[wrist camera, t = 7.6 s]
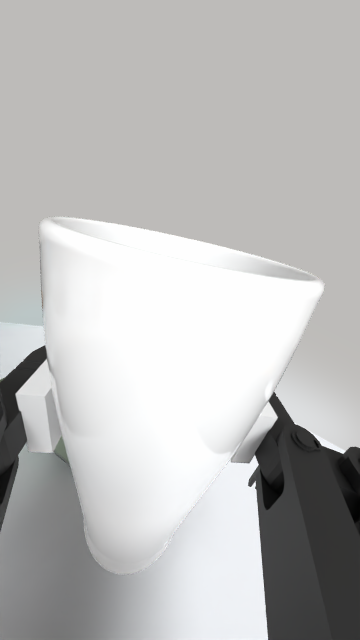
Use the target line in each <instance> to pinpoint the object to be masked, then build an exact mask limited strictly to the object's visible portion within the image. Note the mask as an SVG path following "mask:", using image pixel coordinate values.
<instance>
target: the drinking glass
mask: <svg viewBox="0 0 360 640" xmlns="http://www.w3.org/2000/svg"><path fill="white" fill-rule="evenodd" d="M38 233H39V243H40V270H41V295H42V311H43V325H44V337H45V347H46V356H47V363H48V371H49V377H50V383H51V389H52V394H53V399H54V404H55V409H56V414H57V418H58V422H59V426H60V430H61V434H62V438H63V442H64V446H65V449H66V453H67V457H68V460H69V464H70V468H71V471H72V475H73V479H74V483H75V487H76V490H77V494H78V498H79V502H80V506H81V510H82V514H83V524H84V534H85V538H86V542H87V545H88V548H89V550H90V552H91V554H92V556H93V557H94V559H95V560H96V561H97V562H98V563H99V564H100V565H101V566H102V567H103V568H105V569H106V570H108V571H110V572H112V573H115V574H120V575H129V574H134V573H137V572H140V571H142V570H144V569H146V568H148V567H149V566H151V565H152V564H153V563H154V562H155V561H156V560H157V559H158V558H159V557H160V556H161V555H162V554H163V552H164V551H165V550H166V548H167V547H168V545H169V543H170V541H171V540H172V538H173V535H174V533H175V532H176V530H177V529H178V528H179V526H180V525H181V524H182V522H183V521H184V519H185V518H186V517H187V515H188V514H189V513H190V511H191V510H192V509H193V508H194V506H195V505H196V504H197V502H198V501H199V500H200V498H201V497H202V496H203V494H204V493H205V492H206V491H207V489H208V488H209V487H210V485H211V484H212V483H213V481H214V480H215V479H216V478H217V476H218V475H219V474H220V472H221V471H222V470H223V468H224V467H225V466H226V465H227V463H228V462H229V461H230V459H231V458H232V456H233V455H234V454H235V452H236V451H237V450H238V448H239V447H240V445H241V444H242V443H243V441H244V440H245V438H246V437H247V435H248V434H249V432H250V431H251V429H252V427H253V426H254V424H255V423H256V421H257V419H258V418H259V416H260V415H261V413H262V411H263V410H264V408H265V406H266V405H267V403H268V401H269V400H270V398H271V396H272V394H273V392H274V391H275V389H276V387H277V385H278V383H279V381H280V380H281V378H282V376H283V374H284V372H285V370H286V368H287V366H288V364H289V362H290V360H291V358H292V356H293V354H294V352H295V350H296V348H297V346H298V344H299V342H300V340H301V338H302V336H303V334H304V332H305V330H306V327H307V325H308V323H309V321H310V319H311V317H312V315H313V312H314V310H315V308H316V306H317V304H318V302H319V300H320V298H321V297H322V295H323V293H324V290H325V285H324V282H323V281H322V280H321V279H320V278H319V277H317V276H315V275H313V274H311V273H309V272H306V271H304V270H301V269H298V268H295V267H292V266H290V265H286V264H283V263H280V262H277V261H273V260H270V259H267V258H263V257H259V256H256V255H252V254H248V253H245V252H241V251H237V250H233V249H229V248H225V247H221V246H217V245H213V244H209V243H205V242H201V241H196V240H192V239H187V238H183V237H179V236H174V235H170V234H165V233H160V232H155V231H150V230H145V229H140V228H135V227H130V226H124V225H119V224H113V223H107V222H101V221H95V220H88V219H80V218H71V217H47V218H45V219H43V220H41V222H40V223H39V227H38Z"/></svg>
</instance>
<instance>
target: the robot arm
mask: <svg viewBox="0 0 360 640" xmlns="http://www.w3.org/2000/svg"><path fill="white" fill-rule="evenodd" d="M61 435H62V434H61V430H60V426H59V422H58V418H57V414H56V409H55V404H54V399H53V394H52V389H51V383H50V377H49V371H48V363H47V356H46V347H45V346H43V347H41V348H39V349H37V350H35V351H33V352H32V353H31V354H29V355H28V356H27V357H26V358H25V359H24V361H23V362H21V363H20V364H19V365H18V366H17V367H16V369H14V370H13V371H12V372H10V373H9V374H8V375H7V376H6V377H5V378H4V379H3V380H2V381H1V382H0V531H1V527H2V524H3V520H4V516H5V513H6V509H7V505H8V502H9V498H10V494H11V491H12V487H13V483H14V480H15V476H16V472H17V469H18V462H19V458H18V454H19V453H20V451H21V450H22V448H23V446H24V445H25V443H27V447H28V452H40V453H53V451H54V449H55V447H56V445H57V443H58V441H59V439H60V437H61ZM254 455H255V456H256V458H257V461H258V464H259V465H258V467H257V468H256V470H255V471H254V473H253V474H252V476H251V477H250V479H249V483H248V486H250V487H251V486H252V485H253V483H254V482H255V481H256V487H255V489H256V490H257V503H258V515H259V528H260V541H261V553H262V566H263V579H264V591H265V604H266V617H267V629H268V640H360V448H358V447H350V448H349V449H348V450H347V451H346V452H345V453H344V454H342V453H339V452H337V451H334V450H331V449H329V448H326V447H324V446H321V444H320V442H319V441H318V440H317V439H316V438H315V437H314V435H313V434H311V433H310V432H309V431H307V430H306V429H305V428H303V427H301V426H299V425H295V424H294V422H293V421H292V419H291V417H290V416H289V414H288V413H287V411H286V410H285V408H284V406H283V405H282V403H281V402H280V400H279V399H278V397H277V396H276V394H275V392H273V394H272V396H271V398H270V400H269V401H268V403H267V405H266V406H265V408H264V410H263V411H262V413H261V415H260V416H259V418H258V419H257V421H256V423H255V424H254V426H253V427H252V429H251V431H250V432H249V434H248V435H247V437H246V438H245V440H244V441H243V443H242V444H241V445H240V447H239V448H238V450H237V451H236V452H235V454H234V455H233V456H232V458H231V462H234V463H250V461H251V460H252V458H253V457H254Z"/></svg>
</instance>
